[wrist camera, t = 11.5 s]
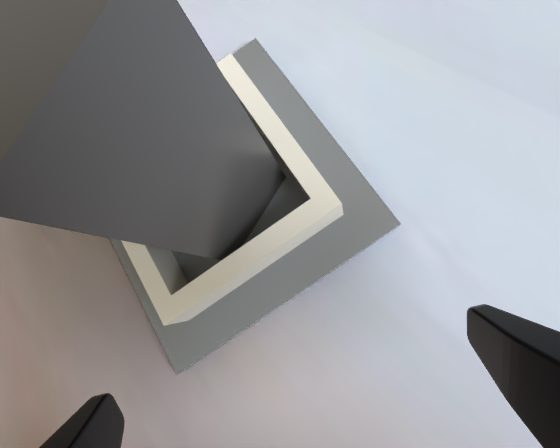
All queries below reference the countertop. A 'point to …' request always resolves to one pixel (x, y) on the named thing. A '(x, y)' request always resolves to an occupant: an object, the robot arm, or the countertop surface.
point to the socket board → (262, 226)
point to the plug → (126, 128)
